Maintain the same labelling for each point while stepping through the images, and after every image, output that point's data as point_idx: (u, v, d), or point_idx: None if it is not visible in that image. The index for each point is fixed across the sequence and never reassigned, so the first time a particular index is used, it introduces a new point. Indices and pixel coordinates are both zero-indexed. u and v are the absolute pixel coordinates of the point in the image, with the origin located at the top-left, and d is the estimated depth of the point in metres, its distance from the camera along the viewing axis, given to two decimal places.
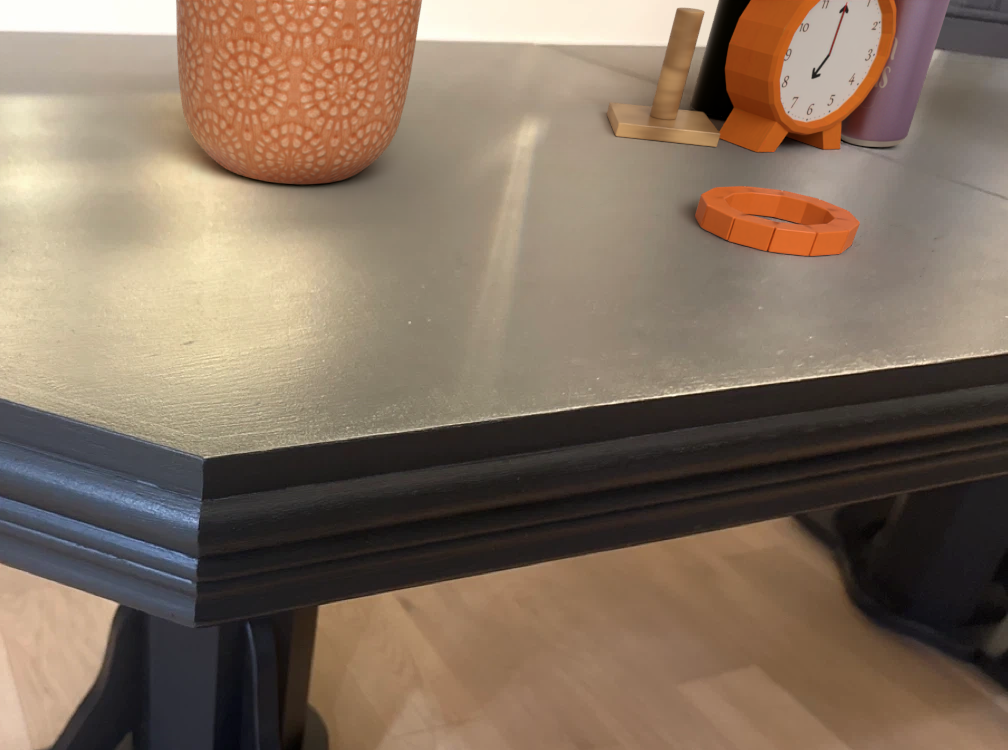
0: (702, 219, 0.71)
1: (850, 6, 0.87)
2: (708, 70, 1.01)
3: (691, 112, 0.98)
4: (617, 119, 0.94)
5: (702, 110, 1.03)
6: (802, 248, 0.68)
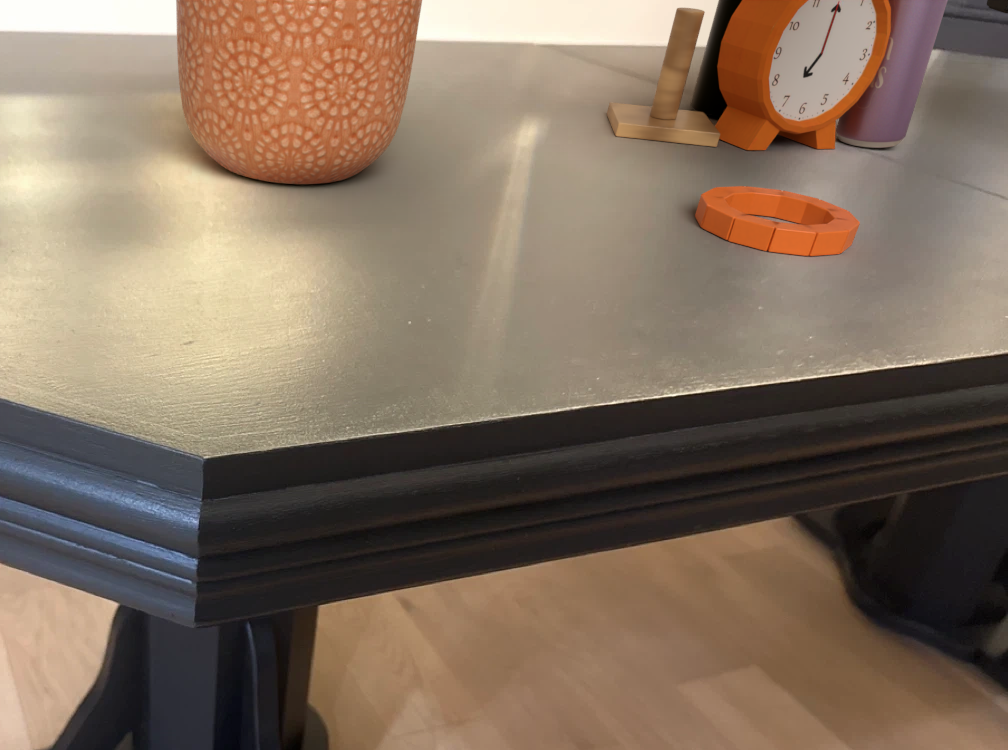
0: (702, 219, 0.71)
1: (842, 5, 0.87)
2: (708, 70, 1.01)
3: (691, 112, 0.98)
4: (617, 119, 0.94)
5: (702, 110, 1.03)
6: (802, 248, 0.68)
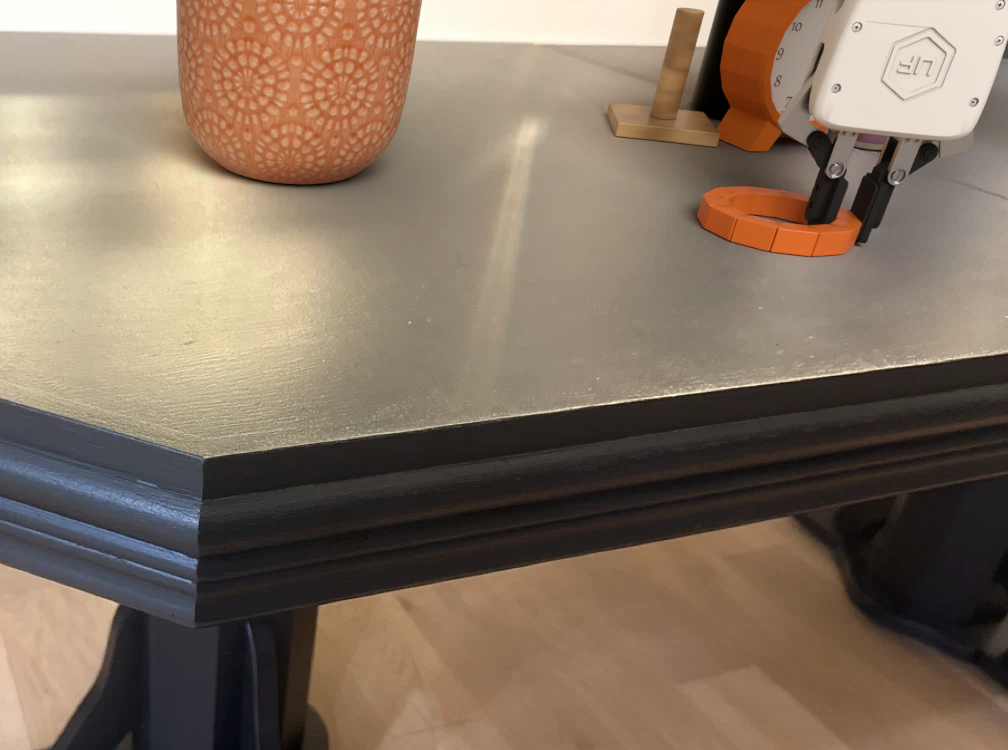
0: (704, 219, 0.71)
1: None
2: (708, 70, 1.01)
3: (691, 112, 0.98)
4: (617, 119, 0.94)
5: (702, 110, 1.03)
6: (804, 248, 0.68)
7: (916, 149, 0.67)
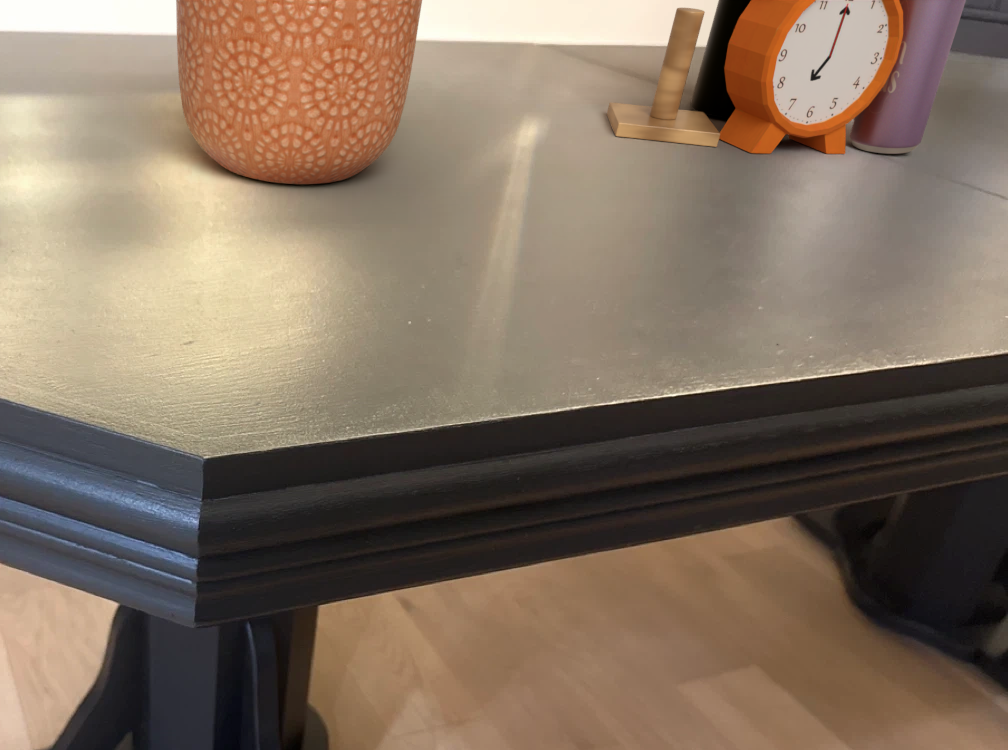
0: None
1: (852, 8, 0.86)
2: (708, 70, 1.01)
3: (691, 112, 0.98)
4: (617, 119, 0.94)
5: (702, 110, 1.03)
6: None
7: None
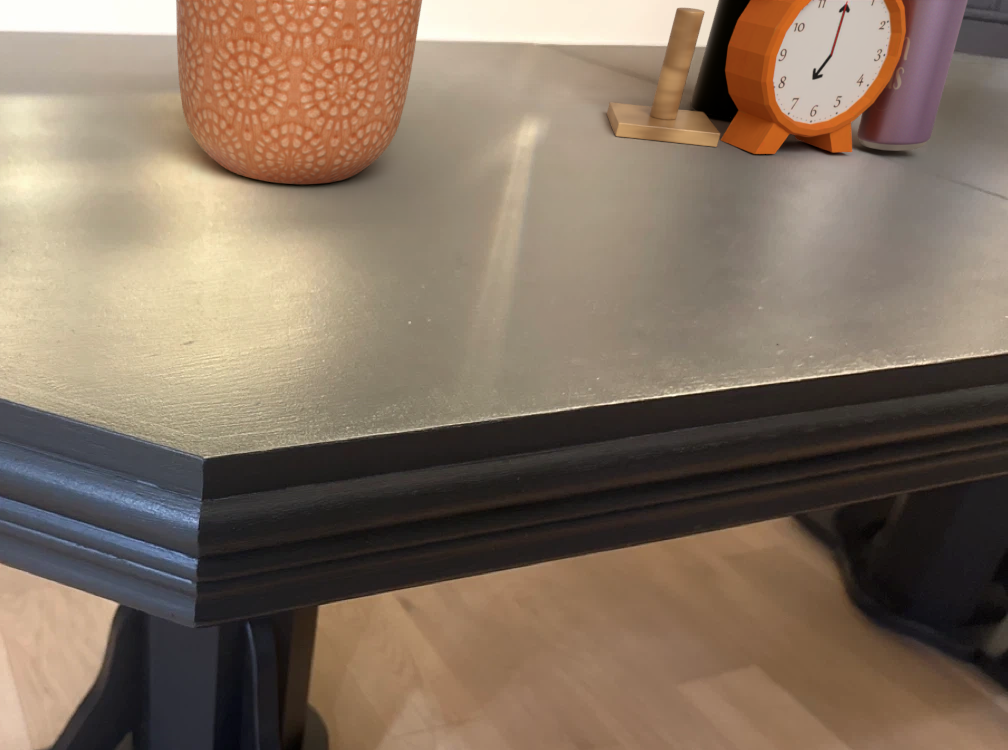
0: None
1: (851, 5, 0.85)
2: (708, 70, 1.01)
3: (691, 112, 0.98)
4: (617, 119, 0.94)
5: (702, 110, 1.03)
6: None
7: None
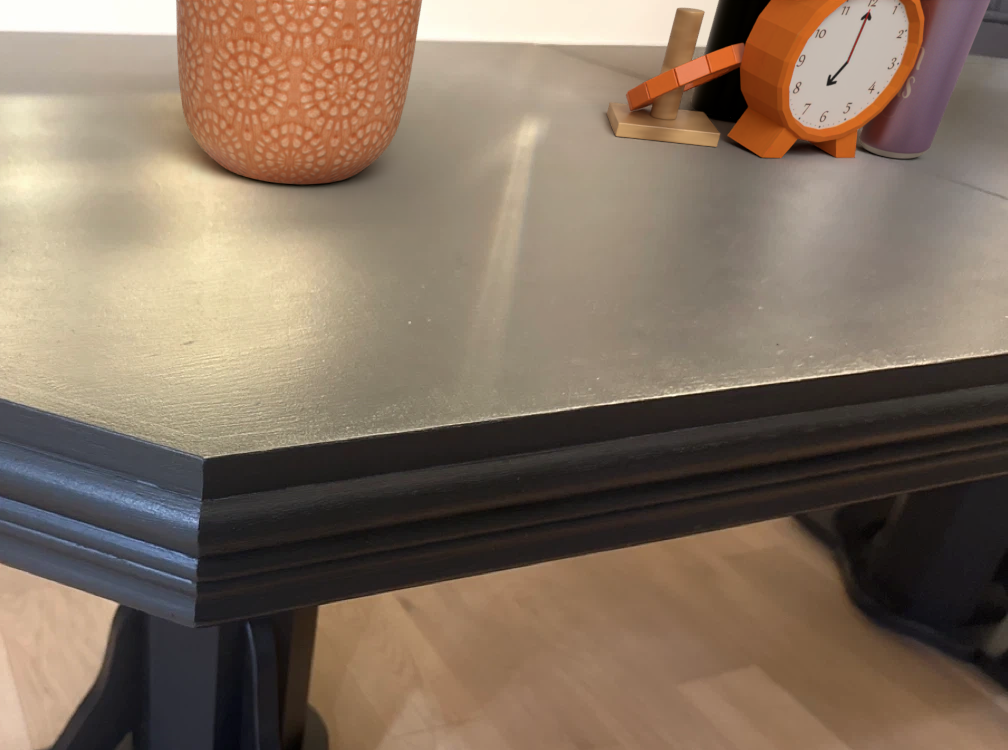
0: (630, 103, 0.94)
1: (873, 13, 0.84)
2: None
3: (691, 112, 0.98)
4: (617, 119, 0.94)
5: (702, 110, 1.03)
6: (702, 70, 0.89)
7: None
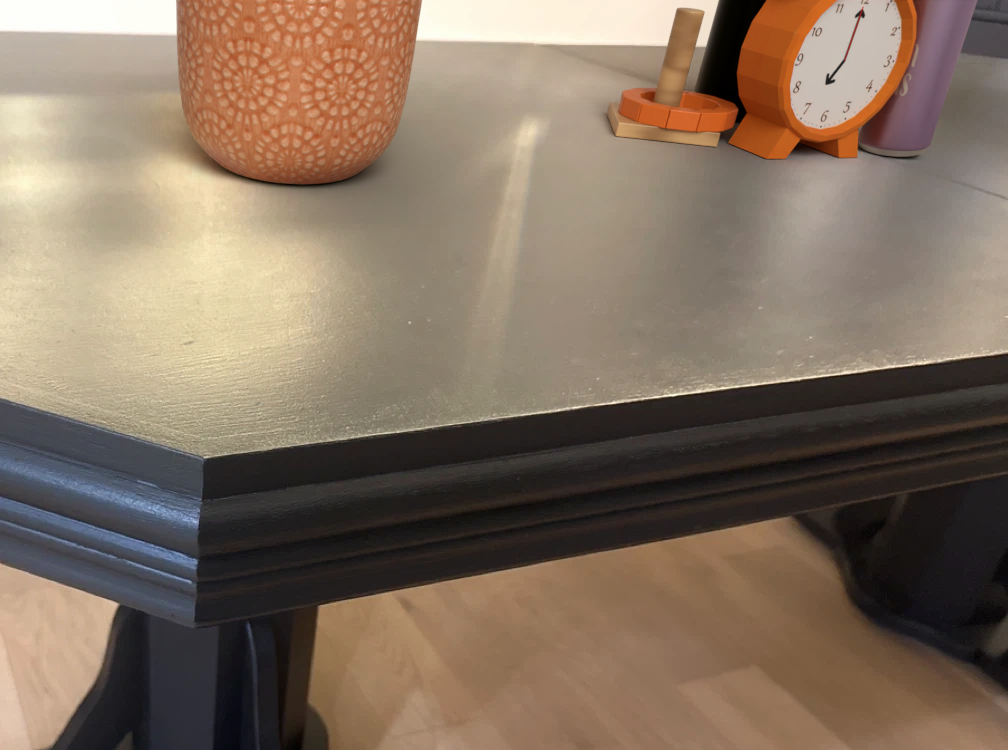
0: (621, 108, 0.95)
1: (867, 11, 0.85)
2: (708, 70, 1.01)
3: None
4: (617, 119, 0.94)
5: None
6: (690, 125, 0.91)
7: None
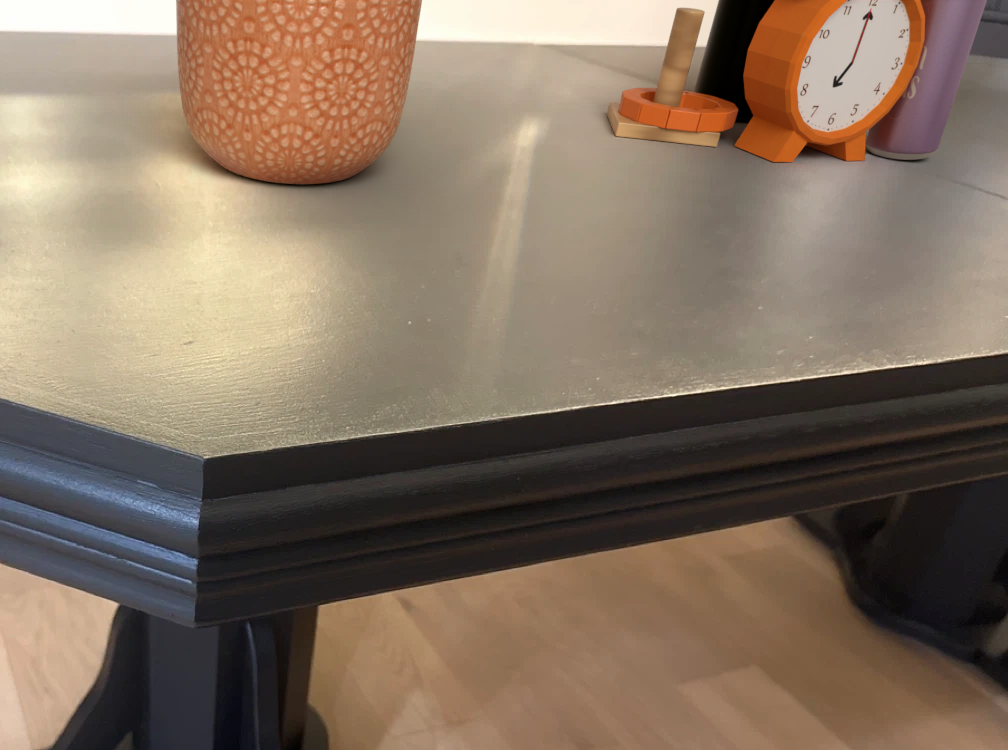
0: (621, 108, 0.95)
1: (875, 13, 0.84)
2: (708, 70, 1.01)
3: None
4: (617, 119, 0.94)
5: None
6: (690, 125, 0.91)
7: None
